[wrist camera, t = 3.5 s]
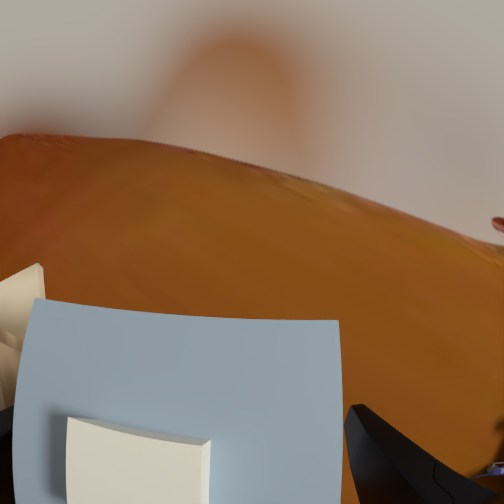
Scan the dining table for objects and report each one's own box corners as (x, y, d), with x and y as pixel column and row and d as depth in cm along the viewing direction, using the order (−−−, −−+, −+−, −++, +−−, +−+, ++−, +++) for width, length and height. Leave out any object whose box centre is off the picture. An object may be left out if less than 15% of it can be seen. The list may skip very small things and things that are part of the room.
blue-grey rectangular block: (267, 475, 12) (338, 631, 1) (173, 468, 12) (-3, 554, 1) (269, 390, 15) (356, 299, 3) (178, 385, 15) (8, 276, 3)
